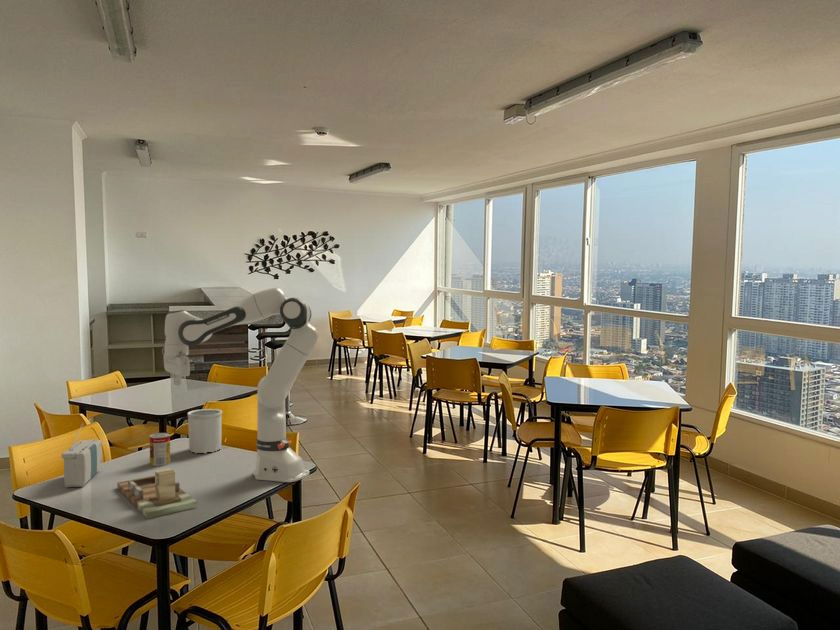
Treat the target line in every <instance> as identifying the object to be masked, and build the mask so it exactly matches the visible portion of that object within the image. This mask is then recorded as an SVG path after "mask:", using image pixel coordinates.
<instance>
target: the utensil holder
mask: <svg viewBox="0 0 840 630" xmlns="http://www.w3.org/2000/svg"><path fill="white" fill-rule="evenodd" d="M222 415H223V410H221V409H219V408H202V409H195V410H191V411H188V412H187V419H188V420H187V421H188V423H187V424H188V447H189V448H188V449H189V452H190V451H191V452H190V453H192V452H195V453H194V454H197V453H204V454H208V453H207V452H212V453H214V452H213V451H216V452H218V451H217V450H219V449H220V448H221V449H222V419H223V418H222ZM221 449H220V450H221ZM220 450H219V451H220Z"/></svg>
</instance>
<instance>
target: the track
mask: <svg viewBox="0 0 840 630" xmlns="http://www.w3.org/2000/svg"><path fill="white" fill-rule="evenodd" d="M116 486H117V489H118V491H120V492H121V493H122V494H123V495H124V496H125V498H127V499H128V500H129V501H130V502H131V504H133V506H135V508H137V510H138V511H140V513H141V514H142V515H143V516H144V517H145V518H146V519H151V518H155V517H161V516H165V515H169V514H173V513H178V512H182V511H186V510H190V509H191V510H192V509H195V508H198V501H197V500H196V499H195V498H194V497H192V496H191V495H190V494H188V493H187V492H185V490H183V489H182V488H180V482H179V481H178V480H176V479H175V493H176V494H177V495H178V496H179V497H181V501H176V502H172V503H167V504H163V505H158V506H157V505H155V504H154V503H153V502H152V501H151V500H150V499H149V497H150V496H155V475H151V476H150V475H149V476H144V477H141V478H135V479H129V480H125V481H120V482H118V481H117V485H116Z"/></svg>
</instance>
